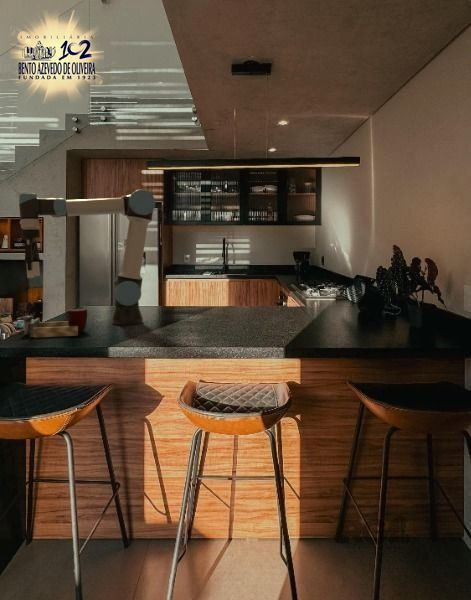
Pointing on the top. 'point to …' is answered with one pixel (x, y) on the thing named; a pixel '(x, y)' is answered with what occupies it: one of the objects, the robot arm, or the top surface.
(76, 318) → the mug
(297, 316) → the top surface
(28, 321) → the winch post
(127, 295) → the robot arm
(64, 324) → the wooden tray
